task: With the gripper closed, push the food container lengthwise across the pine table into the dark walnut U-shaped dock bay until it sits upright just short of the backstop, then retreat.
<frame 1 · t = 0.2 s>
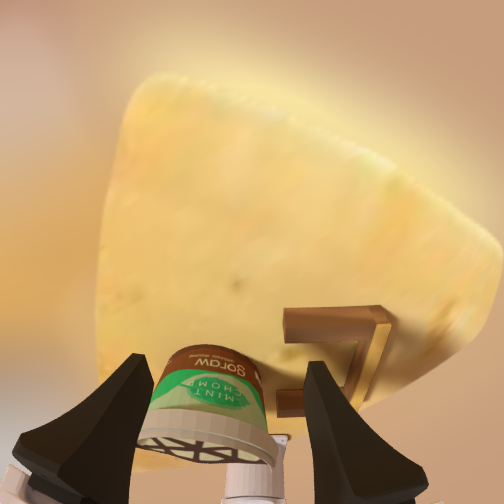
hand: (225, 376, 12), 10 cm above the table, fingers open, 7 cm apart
dock bay: (327, 359, 25), on the table
food container: (212, 357, 25), on the table
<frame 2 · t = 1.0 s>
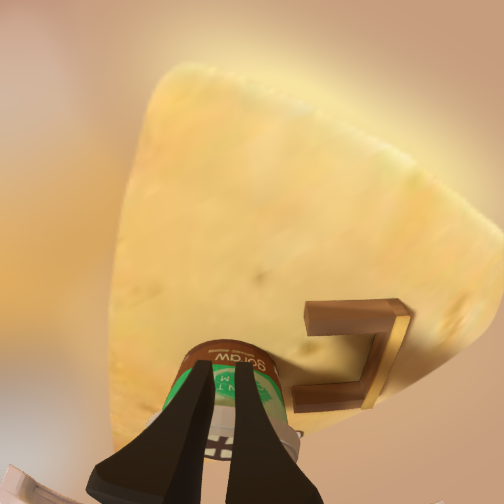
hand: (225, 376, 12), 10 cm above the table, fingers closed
dock bay: (344, 353, 25), on the table
food container: (230, 353, 25), on the table
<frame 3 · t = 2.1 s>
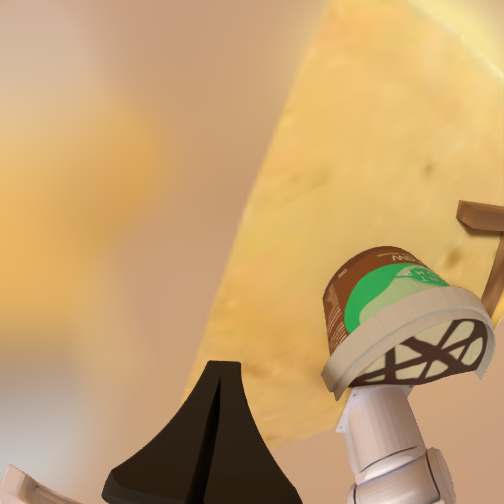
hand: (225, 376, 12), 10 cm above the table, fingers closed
dock bay: (476, 266, 21), on the table
food container: (384, 267, 21), on the table
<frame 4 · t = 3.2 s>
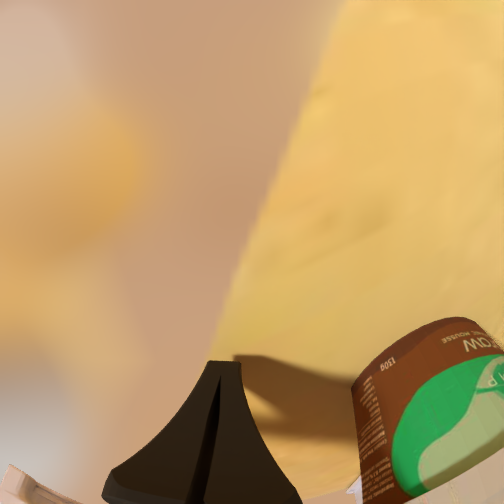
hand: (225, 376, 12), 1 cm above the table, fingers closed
food container: (440, 342, 13), on the table
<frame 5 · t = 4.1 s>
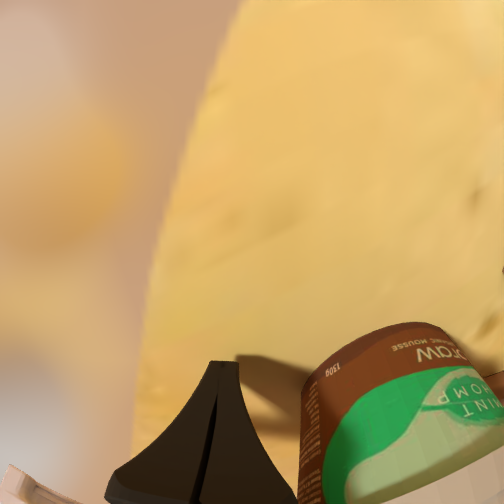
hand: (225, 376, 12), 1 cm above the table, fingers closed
food container: (399, 348, 13), on the table, touching gripper
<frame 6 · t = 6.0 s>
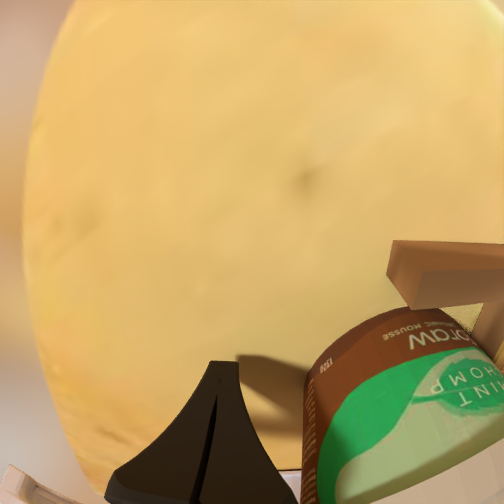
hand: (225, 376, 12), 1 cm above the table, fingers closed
dock bay: (435, 346, 13), on the table
food container: (398, 335, 12), on the table, touching gripper
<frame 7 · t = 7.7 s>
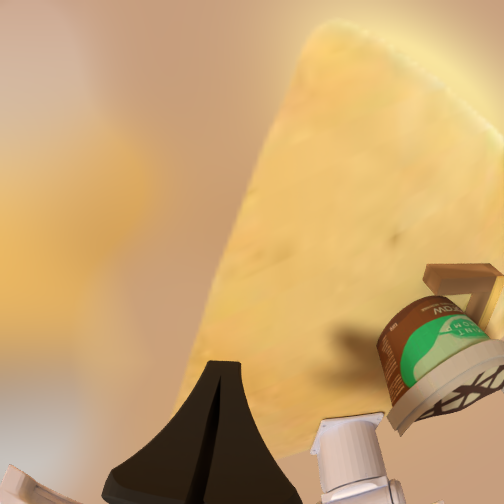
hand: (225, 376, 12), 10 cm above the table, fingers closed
dock bay: (444, 319, 23), on the table
food container: (425, 311, 23), on the table
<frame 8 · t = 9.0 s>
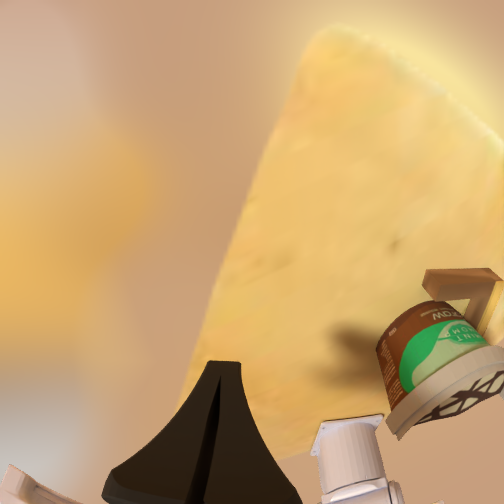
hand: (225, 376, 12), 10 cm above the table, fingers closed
dock bay: (443, 323, 23), on the table
food container: (424, 316, 23), on the table
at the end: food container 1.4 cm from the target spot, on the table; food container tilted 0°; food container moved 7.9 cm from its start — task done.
